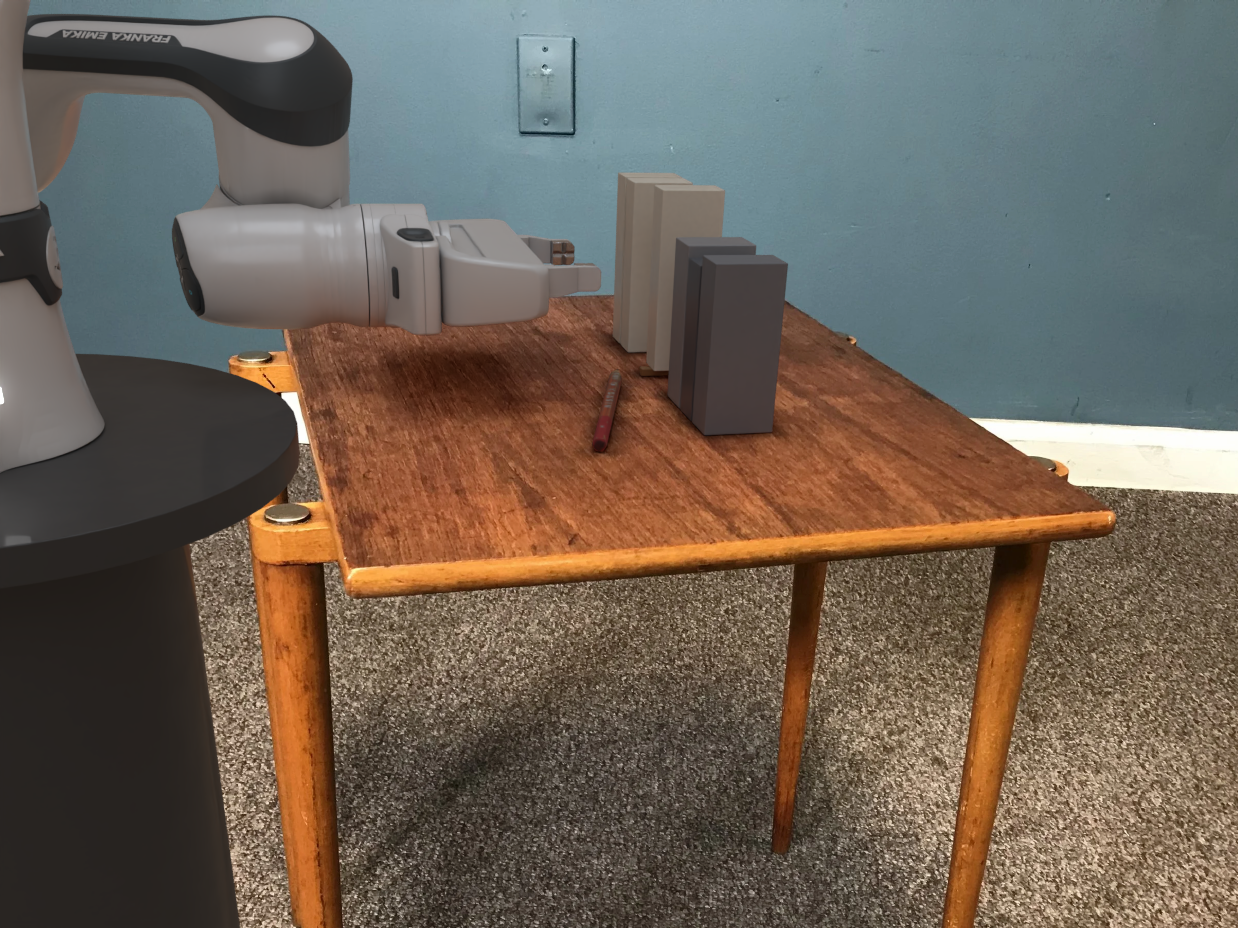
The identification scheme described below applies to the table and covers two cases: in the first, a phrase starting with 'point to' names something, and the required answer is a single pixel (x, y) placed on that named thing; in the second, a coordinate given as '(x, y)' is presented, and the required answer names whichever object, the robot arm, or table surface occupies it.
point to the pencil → (607, 411)
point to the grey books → (726, 334)
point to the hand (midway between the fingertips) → (585, 264)
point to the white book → (672, 218)
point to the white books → (635, 258)
